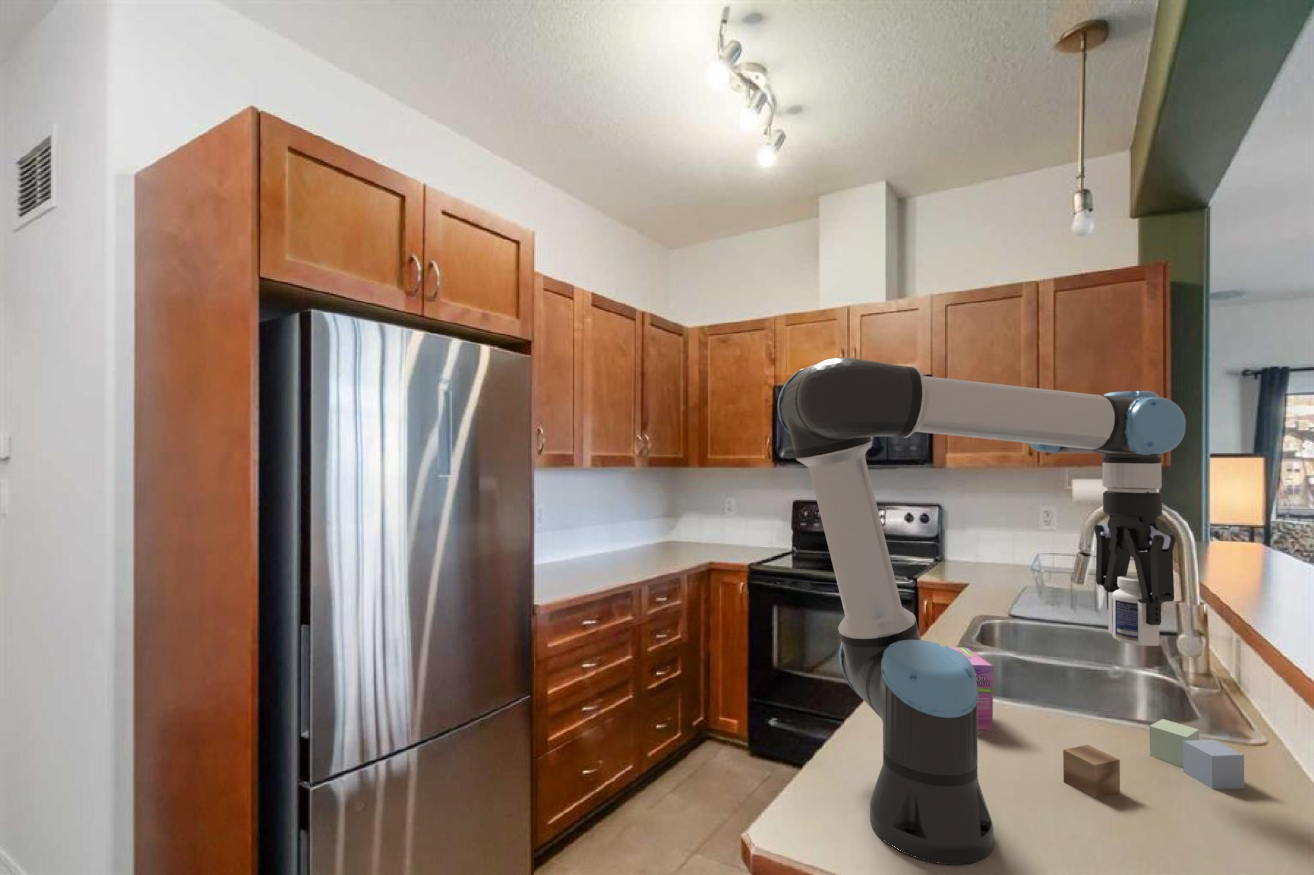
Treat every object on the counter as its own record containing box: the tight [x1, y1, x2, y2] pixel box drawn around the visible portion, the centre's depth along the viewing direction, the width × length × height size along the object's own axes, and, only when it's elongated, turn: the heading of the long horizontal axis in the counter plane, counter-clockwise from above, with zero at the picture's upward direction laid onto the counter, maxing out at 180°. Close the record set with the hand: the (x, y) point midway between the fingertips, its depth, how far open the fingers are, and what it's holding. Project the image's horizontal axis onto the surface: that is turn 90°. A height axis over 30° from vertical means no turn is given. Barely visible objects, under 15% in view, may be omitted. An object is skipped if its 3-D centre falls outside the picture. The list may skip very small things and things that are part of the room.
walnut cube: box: [1062, 744, 1121, 800], centre depth 98 cm, size 5×5×5 cm
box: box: [949, 646, 994, 732], centre depth 123 cm, size 10×6×12 cm, turn 179°
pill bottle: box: [1111, 576, 1142, 646], centre depth 103 cm, size 5×5×10 cm
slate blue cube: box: [1182, 739, 1245, 790], centre depth 100 cm, size 5×5×5 cm
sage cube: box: [1149, 718, 1200, 768], centre depth 107 cm, size 5×5×5 cm
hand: (1133, 638), depth 103 cm, fingers closed on pill bottle, 5 cm apart
